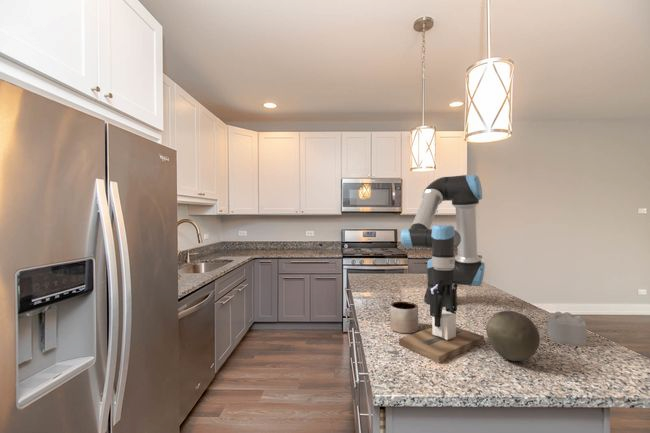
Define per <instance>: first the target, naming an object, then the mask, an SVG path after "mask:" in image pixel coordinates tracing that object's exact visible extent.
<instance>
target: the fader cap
mask: <svg viewBox="0 0 650 433" xmlns="http://www.w3.org/2000/svg"><path fill="white" fill-rule="evenodd" d="M431 317H432V318H431V319H432V321H431V322H432V326H431V327H432V334H433V335H435V318H434V317H433V316H431ZM441 318H443V337H441V338H443V339H446V340H449V339H451V338H454V337H456V327H457V313H456V314H454V313H451V312H447V311H446V310H444V309H442V315H441ZM435 336H437V335H435ZM438 337H440V336H438Z"/></svg>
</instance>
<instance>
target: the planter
mask: <svg viewBox="0 0 650 433" xmlns="http://www.w3.org/2000/svg"><path fill="white" fill-rule="evenodd" d="M389 314H390V315H389V316H390V322H389V324H390V329H391V330H393V331H394V332H395V333H398V334H404V335H407V334H409V335H411V334H414V333H417V332H419V306H418V304H416V303H414V302H410V301H409V302H408V301H393V302H391V303H390V313H389Z"/></svg>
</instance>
